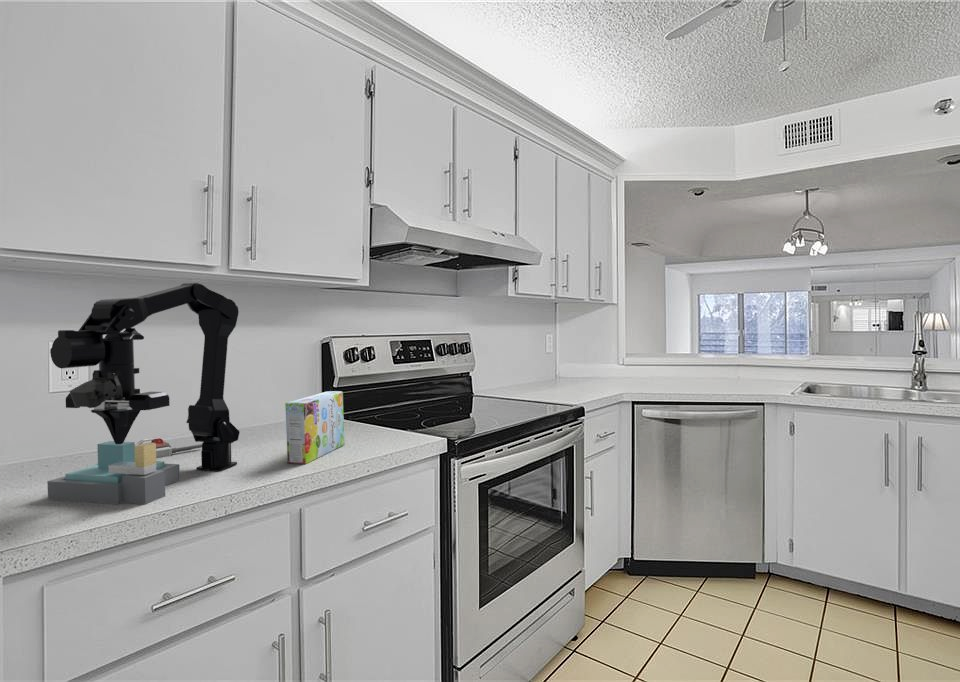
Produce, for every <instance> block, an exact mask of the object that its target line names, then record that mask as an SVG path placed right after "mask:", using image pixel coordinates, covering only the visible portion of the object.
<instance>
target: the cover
mask: <svg viewBox="0 0 960 682" xmlns="http://www.w3.org/2000/svg"><path fill="white" fill-rule="evenodd" d="M135 444H136V443H135V442H134V441H124V442H123V444H115V442H114V440H112V441H111V440H109V441H106V442H100V443H98V444H97V464H94V465H91V466H87V467H85V468H81V469H78V470H74V471H71V472H67V473H65V475H64V476H65V477H66V480H76V481H92V482H108V483H120V482H122V476H125V475H128V474H118V473H109V469H108V465H111V464H114V463H118V462H121V461H123V462H135ZM164 463H165V461H162V460H161V461H159V460H156V470H157V469H160V468H163V467H164Z"/></svg>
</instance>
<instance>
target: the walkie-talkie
mask: <svg viewBox="0 0 960 682" xmlns="http://www.w3.org/2000/svg"><path fill="white" fill-rule="evenodd" d="M150 441H151V442H150ZM145 442H149V443H156V459H157V458H159V459H160V458H163V457H170V456H171V457H172V455H173V454H176V453H180V452H186V451H191V450H196V449H202V443H201V444H196V445H195V444H194V445H189V446H182V447H174V448H173V447H172V445H171V444H170V443H168V442H166V441H164V440H163V439H162V438H160V437H159V436H158V437H157V436H155V437H151V438H141V440H139V441H138V442H136V443H135V446H136V445H140V444H144V443H145Z"/></svg>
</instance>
